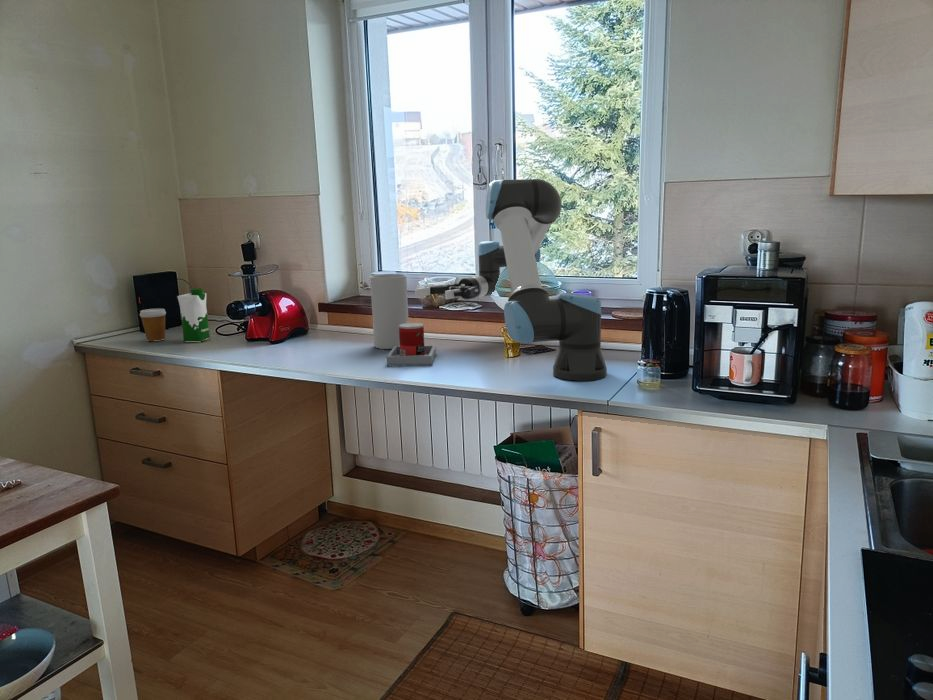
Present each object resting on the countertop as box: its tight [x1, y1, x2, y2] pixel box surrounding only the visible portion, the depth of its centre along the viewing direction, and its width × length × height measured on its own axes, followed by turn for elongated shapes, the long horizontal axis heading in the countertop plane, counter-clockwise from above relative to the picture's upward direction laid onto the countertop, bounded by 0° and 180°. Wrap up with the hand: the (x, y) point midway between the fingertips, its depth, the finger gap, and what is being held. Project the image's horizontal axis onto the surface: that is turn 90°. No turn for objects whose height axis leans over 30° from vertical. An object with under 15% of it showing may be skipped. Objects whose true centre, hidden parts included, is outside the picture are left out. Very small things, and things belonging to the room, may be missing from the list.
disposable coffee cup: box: [138, 307, 167, 341], centre depth 267 cm, size 10×10×12 cm
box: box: [386, 344, 437, 367], centre depth 223 cm, size 16×14×3 cm
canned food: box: [399, 322, 425, 356], centre depth 222 cm, size 8×8×11 cm
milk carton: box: [176, 288, 211, 342], centre depth 263 cm, size 9×9×20 cm
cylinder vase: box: [369, 273, 410, 350], centre depth 242 cm, size 12×12×25 cm
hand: (430, 294), depth 226 cm, fingers open, 13 cm apart
